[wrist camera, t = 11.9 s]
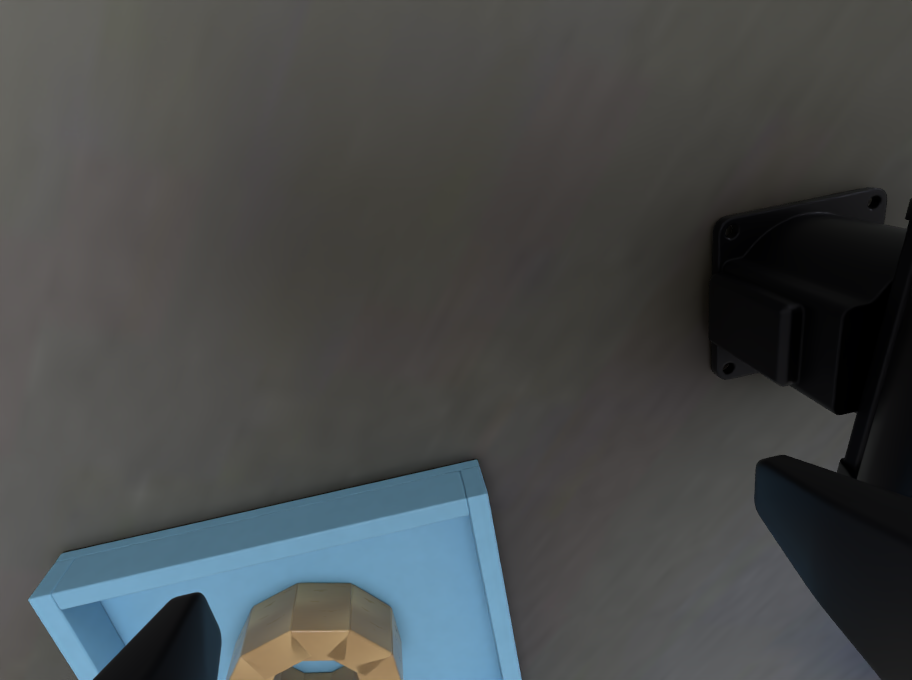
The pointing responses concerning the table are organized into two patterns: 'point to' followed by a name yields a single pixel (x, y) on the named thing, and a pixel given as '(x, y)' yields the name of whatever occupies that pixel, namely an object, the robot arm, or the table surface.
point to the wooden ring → (319, 636)
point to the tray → (307, 574)
